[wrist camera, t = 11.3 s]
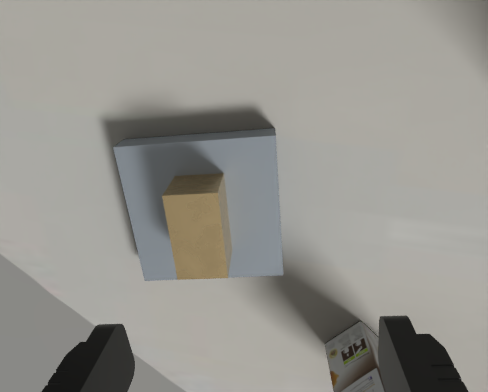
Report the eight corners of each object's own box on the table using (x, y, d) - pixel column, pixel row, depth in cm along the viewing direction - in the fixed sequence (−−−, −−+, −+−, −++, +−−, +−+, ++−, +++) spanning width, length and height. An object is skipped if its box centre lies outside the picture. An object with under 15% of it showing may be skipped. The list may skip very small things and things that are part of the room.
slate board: (274, 128, 38) (275, 135, 35) (282, 260, 44) (283, 275, 41) (123, 139, 39) (113, 147, 36) (152, 265, 45) (144, 280, 43)
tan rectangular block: (223, 173, 37) (217, 192, 32) (232, 250, 40) (228, 277, 36) (174, 175, 37) (162, 195, 33) (187, 252, 41) (177, 279, 36)
